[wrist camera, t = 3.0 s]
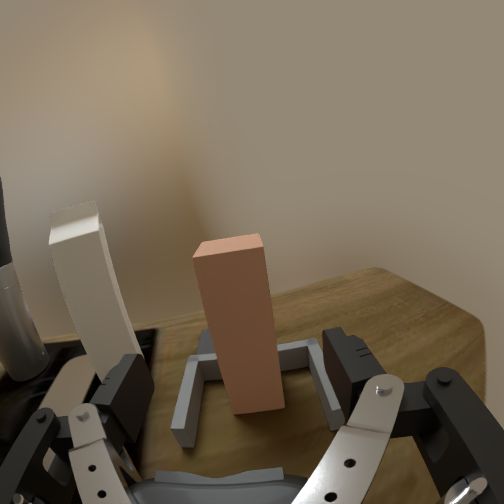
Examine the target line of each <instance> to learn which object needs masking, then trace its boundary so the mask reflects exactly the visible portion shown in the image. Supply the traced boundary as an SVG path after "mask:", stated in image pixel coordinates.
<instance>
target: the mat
mask: <svg viewBox="0 0 504 504" xmlns="http://www.w3.org/2000/svg"><path fill="white" fill-rule="evenodd" d="M213 353H215V350H214V346H213V342H212V338H211V335H210V331H209V329H206V330H202V332H201V337H200V341H199V345H198V349H197V353H196V355H202V354H213Z"/></svg>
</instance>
